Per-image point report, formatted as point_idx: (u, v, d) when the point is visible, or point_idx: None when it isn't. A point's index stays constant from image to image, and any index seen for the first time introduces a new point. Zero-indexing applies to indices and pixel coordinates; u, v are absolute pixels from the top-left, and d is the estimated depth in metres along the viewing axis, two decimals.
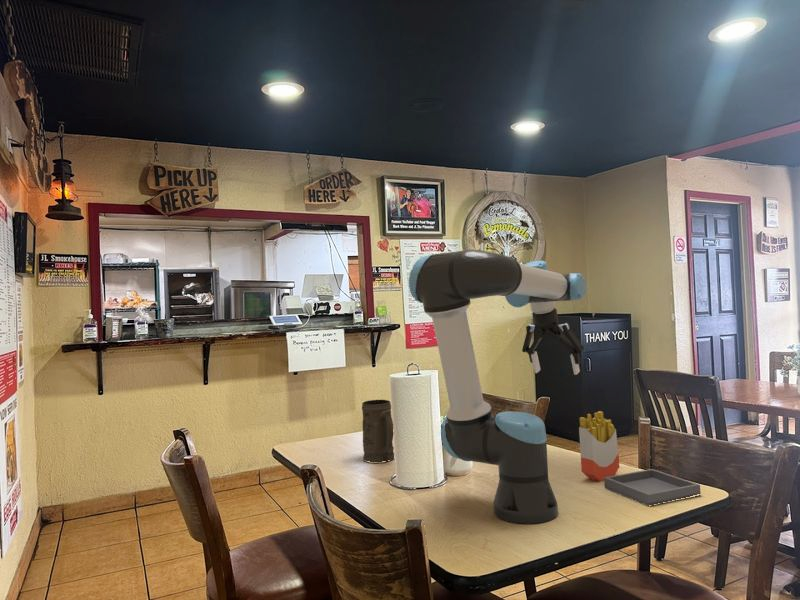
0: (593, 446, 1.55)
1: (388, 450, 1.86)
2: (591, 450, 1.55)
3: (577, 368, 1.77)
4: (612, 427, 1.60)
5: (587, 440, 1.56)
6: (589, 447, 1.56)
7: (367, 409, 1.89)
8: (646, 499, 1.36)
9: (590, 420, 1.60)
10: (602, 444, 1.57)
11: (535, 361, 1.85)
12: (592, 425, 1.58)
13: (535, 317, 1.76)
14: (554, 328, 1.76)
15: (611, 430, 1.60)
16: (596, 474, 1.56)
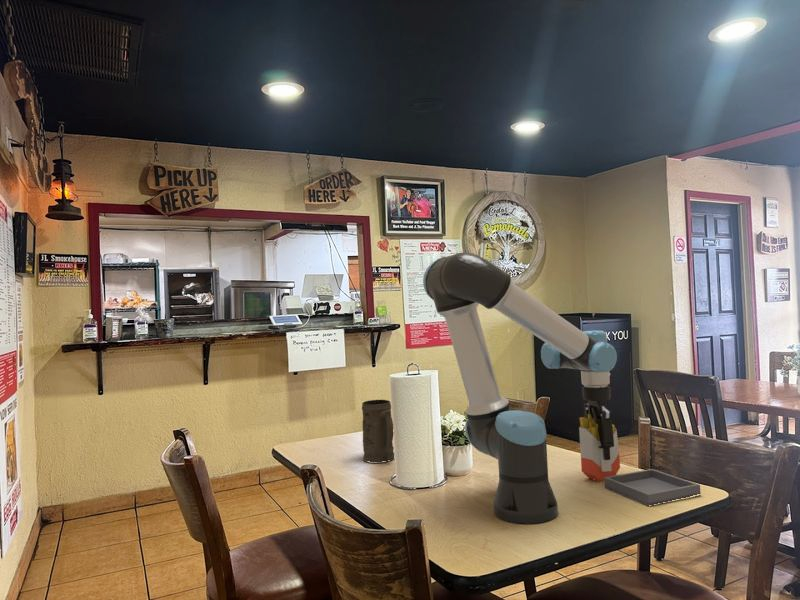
0: (593, 446, 1.55)
1: (388, 450, 1.86)
2: (591, 450, 1.55)
3: (606, 465, 1.56)
4: (613, 427, 1.60)
5: (587, 440, 1.56)
6: (589, 447, 1.56)
7: (367, 409, 1.89)
8: (646, 499, 1.36)
9: (590, 420, 1.60)
10: None
11: None
12: (592, 425, 1.58)
13: (582, 389, 1.61)
14: (597, 407, 1.57)
15: None
16: (596, 474, 1.56)
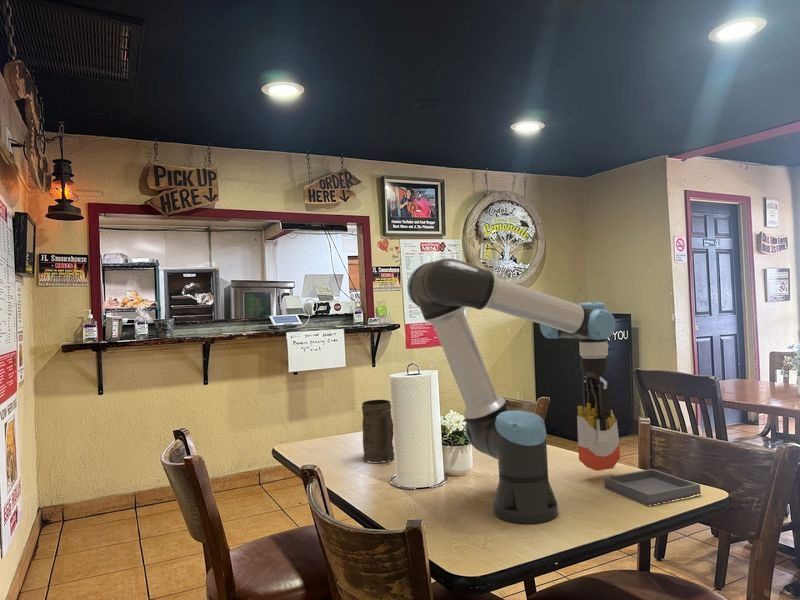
0: (589, 434, 1.56)
1: (388, 450, 1.86)
2: (587, 438, 1.56)
3: (603, 436, 1.56)
4: (612, 417, 1.59)
5: (583, 428, 1.57)
6: (585, 435, 1.56)
7: (367, 409, 1.89)
8: (646, 499, 1.36)
9: (589, 409, 1.60)
10: None
11: None
12: (590, 414, 1.58)
13: (580, 361, 1.61)
14: (595, 378, 1.57)
15: (611, 420, 1.59)
16: (591, 462, 1.56)
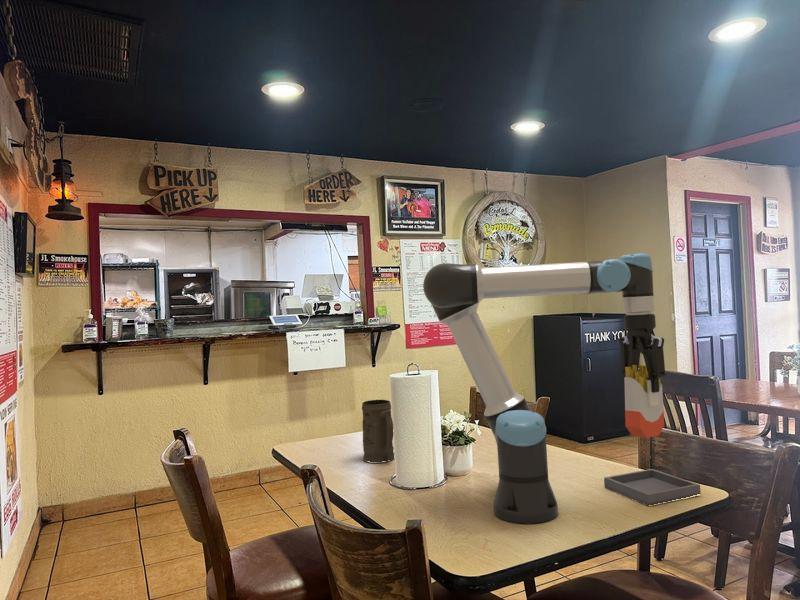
0: (641, 396, 1.42)
1: (388, 450, 1.86)
2: (638, 401, 1.42)
3: (654, 399, 1.43)
4: None
5: (634, 390, 1.43)
6: (636, 398, 1.42)
7: (367, 409, 1.89)
8: (646, 499, 1.36)
9: (636, 371, 1.47)
10: None
11: None
12: (639, 375, 1.45)
13: (624, 319, 1.47)
14: (645, 336, 1.44)
15: None
16: (642, 427, 1.41)
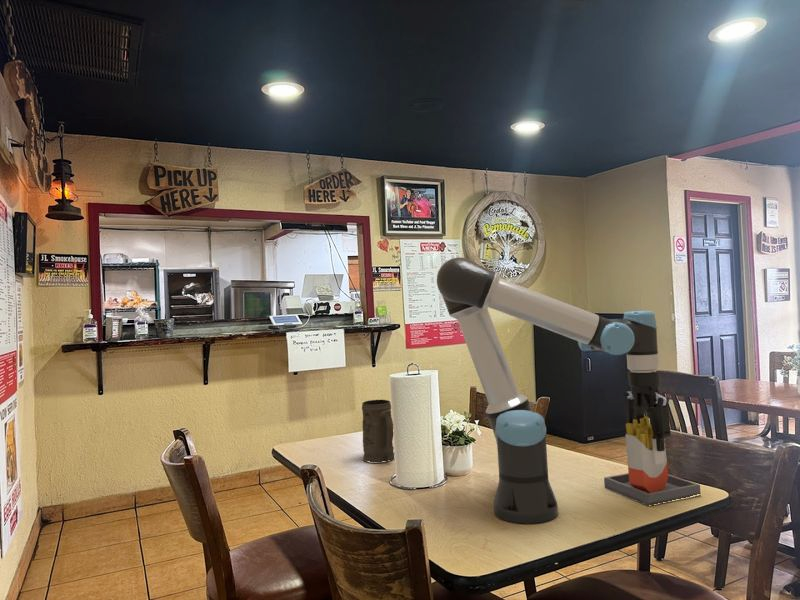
0: (643, 454, 1.41)
1: (388, 450, 1.86)
2: (641, 459, 1.41)
3: (660, 457, 1.43)
4: None
5: (636, 448, 1.42)
6: (638, 456, 1.41)
7: (367, 409, 1.89)
8: (646, 499, 1.36)
9: (637, 426, 1.45)
10: (651, 452, 1.43)
11: None
12: (640, 432, 1.43)
13: (629, 376, 1.47)
14: (649, 394, 1.43)
15: None
16: (646, 486, 1.41)
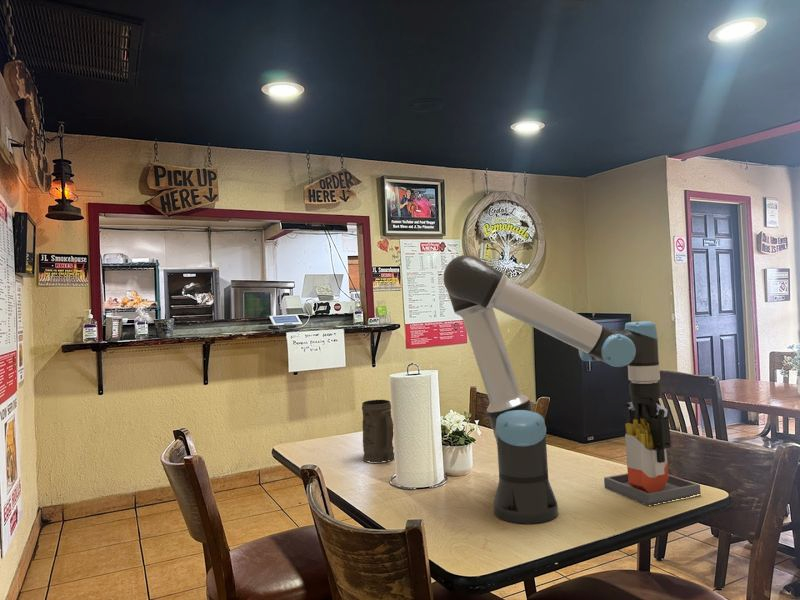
0: (642, 454, 1.41)
1: (388, 450, 1.86)
2: (640, 459, 1.41)
3: (660, 469, 1.43)
4: None
5: (635, 448, 1.42)
6: (637, 456, 1.41)
7: (367, 409, 1.89)
8: (646, 499, 1.36)
9: (637, 426, 1.45)
10: (651, 452, 1.43)
11: None
12: (640, 432, 1.44)
13: (630, 386, 1.47)
14: (651, 405, 1.43)
15: None
16: (645, 485, 1.41)
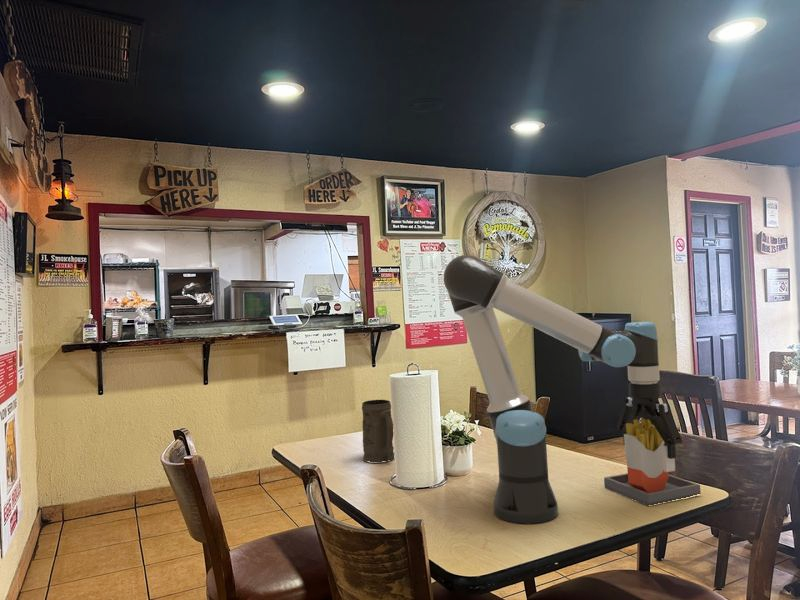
0: (642, 455, 1.41)
1: (388, 450, 1.86)
2: (640, 459, 1.41)
3: (670, 465, 1.39)
4: None
5: (635, 448, 1.42)
6: (637, 456, 1.41)
7: (367, 409, 1.89)
8: (646, 499, 1.36)
9: (637, 426, 1.45)
10: (651, 453, 1.43)
11: None
12: (640, 432, 1.43)
13: (629, 387, 1.47)
14: (650, 406, 1.43)
15: (660, 437, 1.45)
16: (645, 486, 1.41)
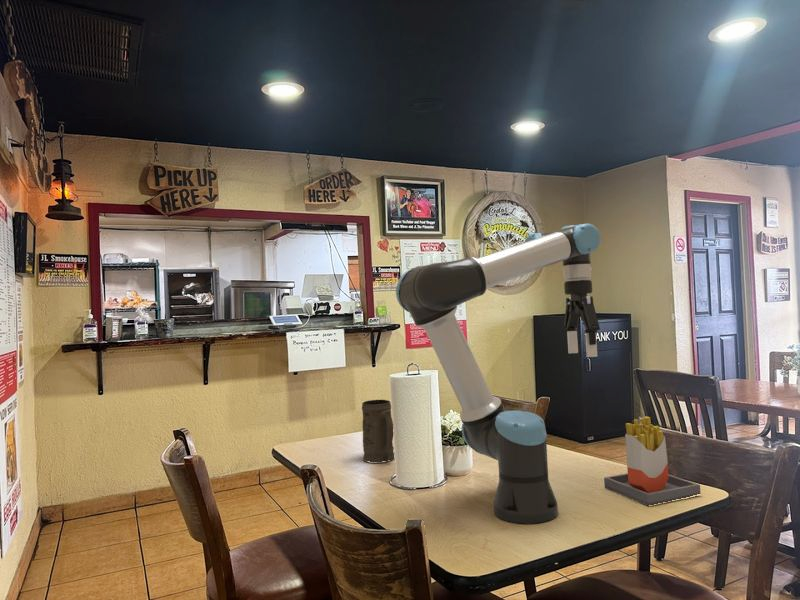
0: (642, 455, 1.41)
1: (388, 450, 1.86)
2: (640, 459, 1.41)
3: (592, 351, 1.54)
4: (661, 434, 1.46)
5: (635, 448, 1.42)
6: (637, 456, 1.41)
7: (367, 409, 1.89)
8: (646, 499, 1.36)
9: (637, 426, 1.45)
10: (651, 453, 1.43)
11: (570, 340, 1.67)
12: (640, 432, 1.43)
13: (564, 285, 1.62)
14: (579, 300, 1.58)
15: (660, 437, 1.45)
16: (645, 486, 1.41)
